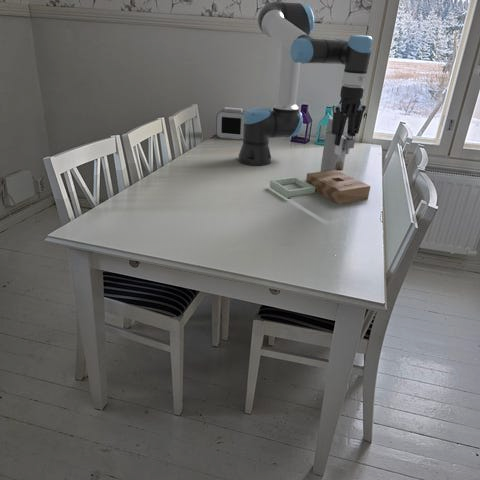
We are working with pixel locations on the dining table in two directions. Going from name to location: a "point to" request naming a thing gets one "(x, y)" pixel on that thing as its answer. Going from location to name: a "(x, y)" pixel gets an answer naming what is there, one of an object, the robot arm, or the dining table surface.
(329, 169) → the water bottle
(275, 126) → the robot arm
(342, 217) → the dining table surface
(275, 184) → the tray
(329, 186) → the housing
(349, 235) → the dining table surface
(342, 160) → the t key
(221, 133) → the grey monitor with handle
